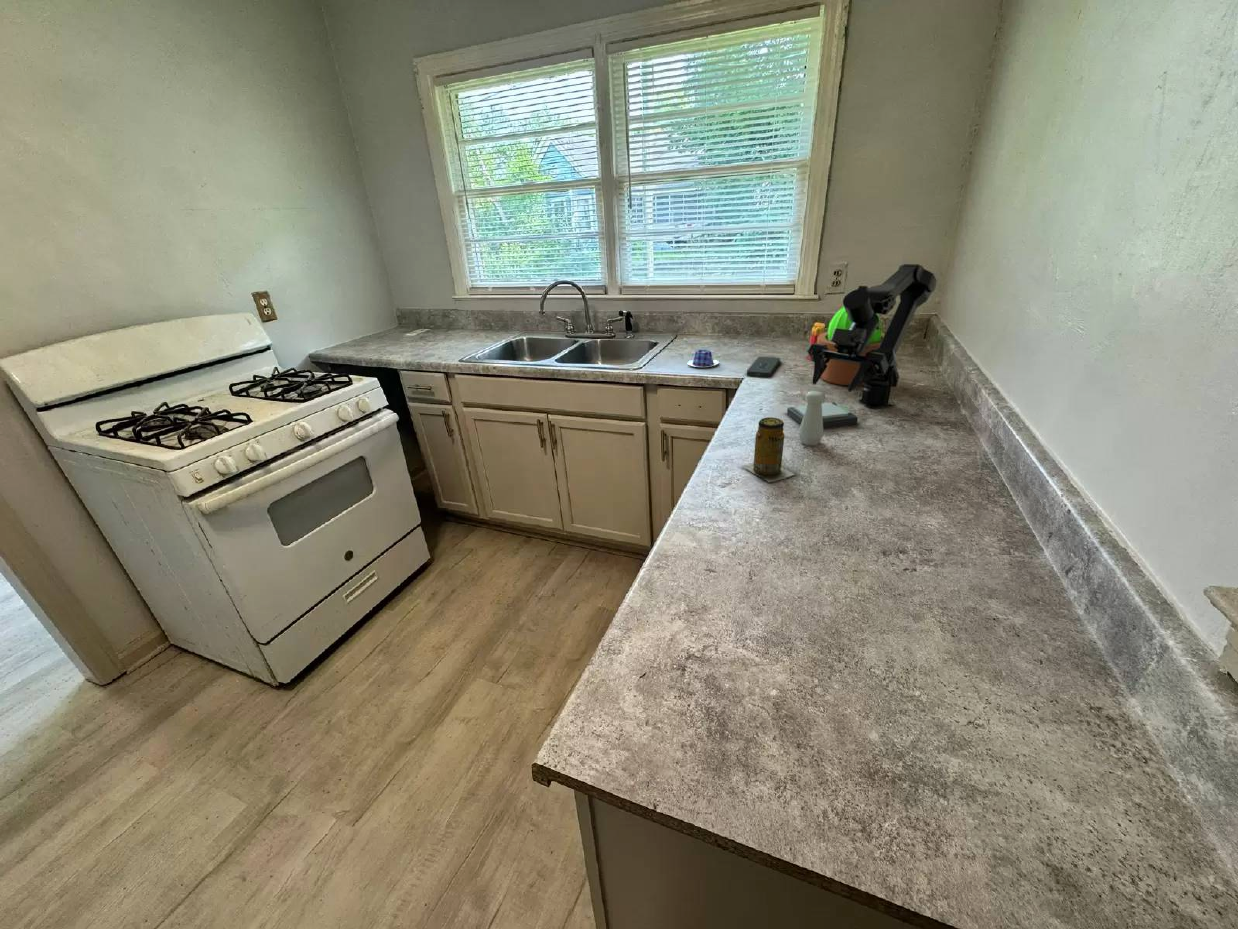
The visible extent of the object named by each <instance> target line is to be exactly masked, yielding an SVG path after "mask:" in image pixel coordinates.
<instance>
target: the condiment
mask: <svg viewBox="0 0 1238 929" xmlns="http://www.w3.org/2000/svg"><path fill="white" fill-rule="evenodd" d="M784 425H785V422H784V421H783V420H782V419H780V418H778V417H771V416H770V417H768V416H767V417H763V418H761V419H759V421H758V425H757V431H756V433H755V441H754V452H753V453H754V455H753V464H752V465H748V466H744V469H746V470H747V471H749V472H750V473H752V474H754V475H756V476H757V477H760V479H762V480H764V481H766V482H768V483H774V482H776V481H781V480H783V479H786V478H789V477H792V476H794V475H796V474H795V473H794V472H792V471H790V470H788V469H786V468H784V467H782V463H783V454H784V446H785V445H784V444H785V433H784V429H785V428H784Z"/></svg>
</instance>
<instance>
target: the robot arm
mask: <svg viewBox="0 0 1238 929" xmlns="http://www.w3.org/2000/svg"><path fill="white" fill-rule="evenodd" d="M937 282H938V281H937V278H936V276H935V274H934V273H933V272H931V271H929V270H927V269H925V268H924V267H923V265H921V264H919V263H904V264H901V265H899V268H898V269H897V270H896V271H895V272H894V273H893V274H891V275H890V276H889V277H888V278H887V279H886V280H884V281H883V283H881V284H878V285H872V286H870V287H868V285H859V286H857V288H856V289H854V290H852V291H850V292H848V293H847V294H846V295H844V297H843V299H842V305H843V307H844V308H845V310H846V313H847V316H848V318H849V320H850V321H851V322H852V324H851V326H850V328H849V330H847V329H839V328H835V329H834V331H833V334H832V337H831V340H830V341H831V342H834V343H835V345H834V347H835V349H837V352H834V351H829V349H828V347H827V345H824V344H817V343H813V344H811V345H810V344H809V346H808V348H807V350H806V352H807V354H808V357H809V356H810V357H811V359H812V360H811V362H813V364H814V366H813V367H814V368H813V376H812V382H811V383H812V384H813V385H814V386H815V385H816V384H817V383H818V382H819V381H820V379H821V376H822V374H823V372H824V371H825V369H826V368H827V365H826V364H827V363H828V362H829V361H830V359H833V360H839V361H845V362H851V363H857V364H860V367H859V370H858V372H857V373H856V375H855V377H854V379H853V380H852V382H851V384H850V385H848V388H847V391H848V393H851V392H853V391H854V390H855V389H857V388H858V387H860V386H862V385H861V384H862V383H865V385H864V387H863V388H862V392H861V398H859V399H858V402H859V403H861V404H863V405H865V406H866V407H867V408H870V409H877V408H885V407H892V406H893V403H891V402H889V401H890V396H891V391H892V388H897V386H898V383H899V381H900V374H899V371H898V368H897V367H898V361H897V360H898V359H897V356H896V355H897V353H898V350H899V348H900V345H901V344H902V341H903V339H904V337H905V336H906V332H907V331H908V329H909V326H910V324H911V321H912V320H913V318H914V315H915V314H916V311H917V309H918V308H919V307H920V306H922V305H924V304H925V303H927V301H928V300H929V298H930V297H931V295H932V293H934V292H935V290H936V287H937ZM897 297H899V303H898V304H897ZM896 304H897V306H896ZM895 306H896V308H895V311H894V313H893V315H892V318H891V320H890V322H889V324H888V326H887V329H886V331H885V333H884V334H885V335H884V337H883V339H882V341H881V343H880V346H879V347H878V348H877V349H875V350H873V349H871V350H870V351H869V352H867V353H866V355H865V356H862V354H863V352H864V350H865V348H867V349H868V348H869V346H870V345H869V341H870V339H871V337H872V335H873V333H874V331H875V330H878V329H879V326H880V325H879V322H880V321H881V319H880V320H879V317H880V316H879V317H878V315H888V314H889V313H890V312H891V310H893V309H894V307H895ZM877 314H878V315H877Z"/></svg>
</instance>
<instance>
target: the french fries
mask: <svg viewBox="0 0 1238 929" xmlns="http://www.w3.org/2000/svg"><path fill="white" fill-rule="evenodd" d="M825 326H826V325H825V323H823V322H814V326H813V327H812V328H811V333H810V341H809V346H810V345H811V344H813V343H817V339H818V336H819V335H820V334H822V333H824V332H825ZM808 360H810V361H812V359H811V357H810V356H809V355H808Z"/></svg>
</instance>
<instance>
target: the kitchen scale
mask: <svg viewBox="0 0 1238 929" xmlns="http://www.w3.org/2000/svg"><path fill="white" fill-rule="evenodd" d="M807 405H808V404H803V405H794V406H791V407H787V410H786V415H787V416H789V417H790V418H791V419H792V420H794V421H795V422H796V423H797V424H799V425H800V426H801V423H802V420H803V417H804V414H805V411H806V408H807ZM822 418H823V429H827V428H837V427H843V426H844V427H845V426H852V425H857V424H858V419H859V417H858V416H857V415H855V414H853V413H852V411H850V410H848V408H845V407H844V406H843V405H840V404H837V403H836V402H831V401H830V402H823V403H822Z"/></svg>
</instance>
